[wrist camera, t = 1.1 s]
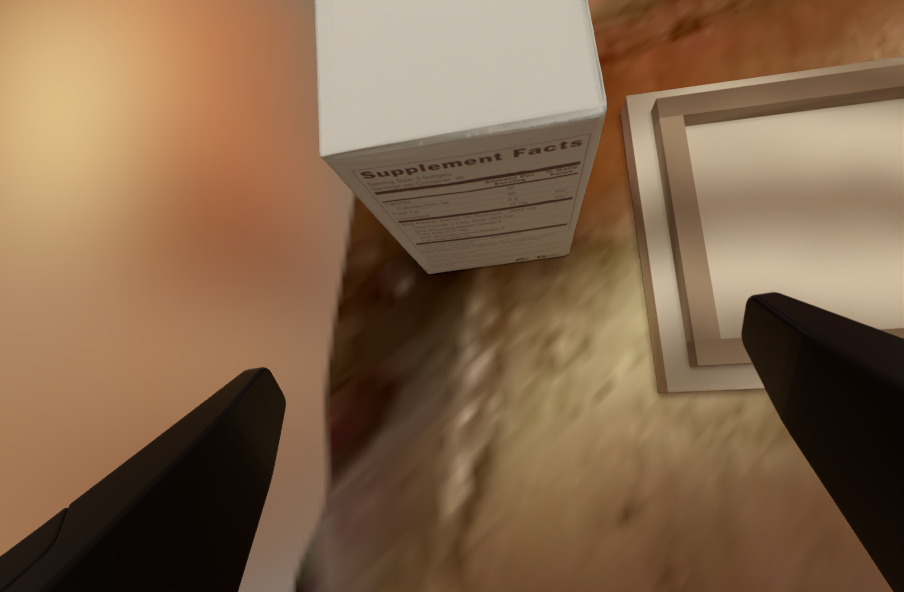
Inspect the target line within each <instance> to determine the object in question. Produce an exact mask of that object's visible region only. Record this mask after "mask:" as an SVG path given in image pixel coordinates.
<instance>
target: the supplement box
mask: <svg viewBox="0 0 904 592" xmlns="http://www.w3.org/2000/svg"><path fill="white" fill-rule="evenodd" d="M315 22H316V23H315V25H316V52H317V53H316V54H317V55H316V56H317V84H318V112H319V113H318V114H319V140H320V142H319V143H320V144H319V146H320V147H319V148H320V149H319V150H320V156H321V158H322V159H323V160H324V161H325V162H326V163H327V164H328V165H329V166H330V167H331V168H332V169H333V170H334V171H335V172H336V174H337V175H338V176H339V177H340V178H341V179H342V180H343V182H344V183H345V184H346V185H347V186H348V187H349V188H350V189H351V190H352V191H353V193H354V194H355V195H356V196H357V197H358V198H359V199H360V200H361V201H362V202H363V203H364V204H365V206H366V207H367V208H368V209H369V210H370V211H371V212H372V213H373V214H374V216H375V217H376V218H377V219H378V220H379V221H380V222H381V223H382V224H383V225H384V226H385V228H386V229H387V230H388V231H389V232H390V233H391V234H392V235H393V236H394V238H395V239H396V240H397V241H398V242H399V243H400V244H401V245H402V246H403V247H404V248H405V250H406V251H407V252H408V253H409V254H410V255H411V256H412V257H413V258H414V259H415V260H416V261H417V262H418V264H419V265H420V266H421V267H422V268H423V269H424V270H425V271H426V272H427V273H428V274H434V273H440V272H447V271H455V270H462V269H470V268H477V267H484V266H493V265H500V264H508V263H515V262H523V261H530V260H538V259H544V258H553V257H560V256H566V255H568V254H569V251H570V247H571V243H572V239H573V235H574V231H575V228H576V224H577V220H578V217H579V213H580V209H581V205H582V202H583V198H584V194H585V191H586V187H587V184H588V180H589V177H590V173H591V169H592V166H593V162H594V159H595V155H596V151H597V147H598V143H599V139H600V136H601V131H602V127H603V123H604V118H605V114H606V110H607V102H606V95H605V91H604V85H603V79H602V73H601V68H600V63H599V59H598V53H597V48H596V43H595V37H594V32H593V26H592V21H591V16H590V11H589V5H588V0H315Z"/></svg>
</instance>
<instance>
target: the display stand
mask: <svg viewBox="0 0 904 592" xmlns="http://www.w3.org/2000/svg"><path fill="white" fill-rule="evenodd" d="M620 115H621V122H622V129H623V137H624V144H625V151H626V159H627V166H628V173H629V181H630V188H631V195H632V202H633V210H634V217H635V224H636V232H637V239H638V246H639V253H640V261H641V268H642V275H643V283H644V290H645V297H646V305H647V312H648V319H649V326H650V334H651V341H652V348H653V356H654V363H655V370H656V377H657V385H658V392H688V391H711V390H734V389H757V388H764V386H763V384H762V382H761V380H760V378H759V376H758V374H757V372H756V370H755V368H754V366H753V364H752V362H751V360H750V358H749V356H748V354H747V352H746V350H745V348H744V345H743V342H742V338H741V331H742V325H743V319H744V312H745V306H746V302H747V300H748V298H749V297H750V296H752V295H756V294H762V293H769V292H778V293H781V294H784V295H786V296H789V297H792V298H795V299H797V300H800V301H803V302H806V303H808V304H811V305H814V306H816V307H819V308H822V309H825V310H827V311H830V312H833V313H836V314H838V315H841V316H844V317H847V318H849V319H852V320H855V321H857V322H860V323H863V324H866V325H868V326H871V327H874V328H877V329H879V330H882V331H885V332H887V333H890V334H893V335H896V336H898V337H901V338H904V57H899V58H892V59H884V60H877V61H870V62H863V63H856V64H849V65H842V66H835V67H828V68H821V69H814V70H807V71H800V72H793V73H786V74H778V75H771V76H764V77H757V78H750V79H743V80H736V81H729V82H722V83H715V84H708V85H701V86H694V87H687V88H679V89H672V90H665V91H658V92H651V93H644V94H637V95H630V96H626V98H625V101H624V104H623V108H622V111H621V114H620Z"/></svg>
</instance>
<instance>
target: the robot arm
mask: <svg viewBox="0 0 904 592" xmlns="http://www.w3.org/2000/svg"><path fill="white" fill-rule="evenodd" d="M741 338H742V342H743V345H744V348H745V350H746V352H747V354H748V356H749V358H750V360H751V362H752V364H753V366H754V368H755V370H756V372H757V374H758V376H759V378H760V380H761V382H762V384H763V386H764V388H765V390H766V392H767V394H768V396H769V398H770V400H771V402H772V404H773V406H774V408H775V409H776V411H777V413H778V415H779V417H780V419H781V420H782V422H783V424H784V425H785V427H786V429H787V430H788V432H789V433H790V435H791V436H792V438H793V439H794V441H795V443H796V444H797V446H798V447H799V449H800V450H801V452H802V453H803V455H804V456H805V458H806V459H807V461H808V462H809V464H810V465H811V467H812V468H813V470H814V471H815V473H816V475H817V476H818V478H819V479H820V481H821V482H822V484H823V485H824V487H825V488H826V490H827V491H828V493H829V494H830V496H831V497H832V499H833V500H834V502H835V503H836V505H837V507H838V508H839V510H840V511H841V513H842V514H843V516H844V517H845V519H846V520H847V522H848V523H849V525H850V526H851V528H852V529H853V531H854V532H855V534H856V535H857V537H858V539H859V540H860V542H861V543H862V545H863V546H864V548H865V549H866V551H867V552H868V554H869V555H870V557H871V558H872V560H873V561H874V563H875V564H876V566H877V567H878V569H879V571H880V572H881V574H882V575H883V577H884V578H885V580H886V581H887V583H888V584H889V586H890V587H891V589H892V590H893V592H904V338H901V337H898V336H896V335H893V334H890V333H887V332H885V331H882V330H879V329H877V328H874V327H871V326H868V325H866V324H863V323H860V322H857V321H855V320H852V319H849V318H847V317H844V316H841V315H838V314H836V313H833V312H830V311H827V310H825V309H822V308H819V307H816V306H814V305H811V304H808V303H806V302H803V301H800V300H797V299H795V298H792V297H789V296H786V295H784V294H781V293H778V292H769V293H762V294H756V295H752V296H750V297H749V298H748V300H747V302H746V306H745V312H744V319H743V325H742V331H741ZM285 407H286V401H285V398H284V395H283V393H282V391H281V389H280V387H279V385H278V384H277V382H276V380H275V378H274V377H273V375H272V373H271V372H270V370H269V369H267V368H264V367H261V368H254V369H248V370H245V371H244V372H242V373H241V374H240V375H238V376H237V377H236V378H234V379H233V380H232V381H230V382H229V383H228V384H226V385H225V386H224V387H223V388H221V389H220V390H219V391H217V392H216V393H215V394H213V395H212V396H211V397H209V398H208V399H207V400H206V401H204V402H203V403H202V404H200V405H199V406H198V407H196V408H195V409H194V410H192V411H191V412H190V413H189V414H187V415H186V416H185V417H183V418H182V419H181V420H179V421H178V422H177V423H176V424H174V425H173V426H172V427H170V428H169V429H168V430H166V431H165V432H164V433H162V434H161V435H160V436H158V437H157V438H156V439H155V440H153V441H152V442H151V443H149V444H148V445H147V446H145V447H144V448H143V449H142V450H140V451H139V452H138V453H136V454H135V455H134V456H132V457H131V458H130V459H128V460H127V461H126V462H124V463H123V464H122V465H121V466H119V467H118V468H117V469H115V470H114V471H113V472H112V473H110V474H109V475H107V476H106V477H105V478H104V479H102V480H101V481H100V482H98V483H97V484H96V485H94V486H93V487H92V488H90V489H89V490H88V491H87V492H85V493H84V494H83V495H81V496H80V497H79V498H77V499H76V500H75V501H73V502H72V503H71V504H70V505H69V507H68V508H64V509H63V510H61V511H60V512H59V513H58V514H56V515H55V516H54V517H52V518H51V519H50V520H48V521H47V522H46V523H45V524H43V525H42V526H41V527H39V528H38V529H37V530H35V531H34V532H33V533H31V534H30V535H29V536H27V537H26V538H25V539H23V540H22V541H21V542H20V543H18V544H16V545H15V546H14V547H12V548H11V549H10V550H9V551H7V552H6V553H5V554H3V555H2V556H0V592H238V590H239V586H240V583H241V580H242V577H243V573H244V570H245V567H246V563H247V560H248V557H249V553H250V550H251V547H252V543H253V540H254V537H255V533H256V530H257V527H258V523H259V520H260V517H261V514H262V510H263V507H264V504H265V500H266V497H267V493H268V490H269V486H270V483H271V479H272V475H273V471H274V466H275V461H276V456H277V450H278V445H279V440H280V435H281V429H282V424H283V419H284V413H285Z"/></svg>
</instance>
